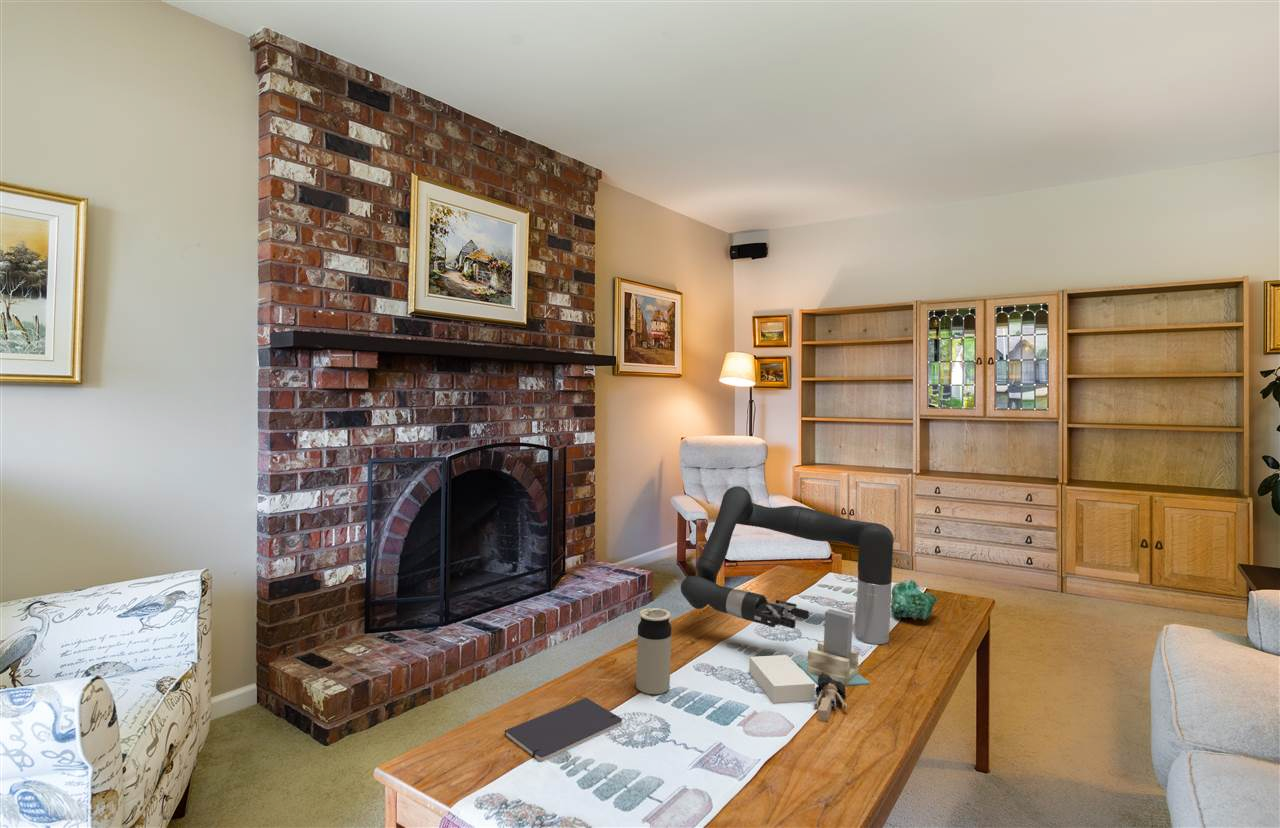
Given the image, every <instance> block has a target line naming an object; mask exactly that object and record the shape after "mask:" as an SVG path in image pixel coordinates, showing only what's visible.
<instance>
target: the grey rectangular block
mask: <svg viewBox="0 0 1280 828" xmlns="http://www.w3.org/2000/svg"><path fill="white" fill-rule="evenodd" d="M853 617H854V614H852V613H847V612H843V611H839V610H834V609H832V608H831V609H830V608H829V609H828V610H826V611H825V612H824V629H823V630H824V631H823V633H824V634H823V642H824V652H825V653H829V654H832V655H836V656H839V657H843V658H846V659H850V667H851V650H852V641H853V640H852V639H853V638H852V637H853V623H854V622H853V621H854V620H853ZM849 670H850V669H849Z"/></svg>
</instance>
